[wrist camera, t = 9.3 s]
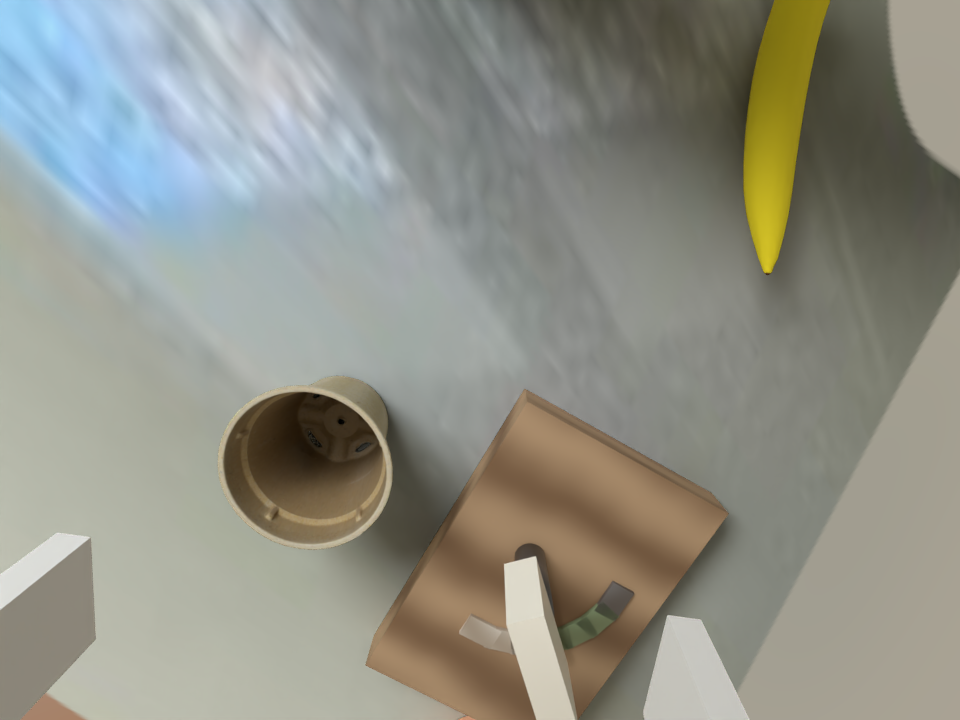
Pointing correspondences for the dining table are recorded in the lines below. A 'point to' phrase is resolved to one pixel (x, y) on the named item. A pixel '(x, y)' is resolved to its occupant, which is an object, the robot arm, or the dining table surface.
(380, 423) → the flower pot
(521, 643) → the white angular block
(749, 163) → the banana
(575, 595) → the tuner board
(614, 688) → the dining table surface
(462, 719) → the salt shaker
